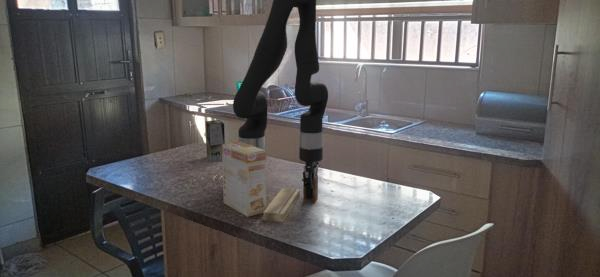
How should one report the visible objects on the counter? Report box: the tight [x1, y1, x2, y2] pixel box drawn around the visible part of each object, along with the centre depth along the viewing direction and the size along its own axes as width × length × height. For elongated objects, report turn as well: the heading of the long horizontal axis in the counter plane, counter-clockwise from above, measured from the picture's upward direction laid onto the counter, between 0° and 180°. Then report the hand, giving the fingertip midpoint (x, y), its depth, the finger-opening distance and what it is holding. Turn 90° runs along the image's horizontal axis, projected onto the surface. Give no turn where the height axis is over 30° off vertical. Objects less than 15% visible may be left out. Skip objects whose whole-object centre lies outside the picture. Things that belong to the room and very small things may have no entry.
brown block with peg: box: [301, 175, 319, 203], centre depth 156 cm, size 5×4×8 cm
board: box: [262, 187, 301, 223], centre depth 150 cm, size 6×22×3 cm, turn 168°
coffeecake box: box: [221, 141, 267, 218], centre depth 148 cm, size 15×7×20 cm, turn 37°
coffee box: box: [205, 119, 226, 163], centre depth 203 cm, size 9×6×16 cm
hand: (310, 196), depth 157 cm, fingers closed on brown block with peg, 4 cm apart
